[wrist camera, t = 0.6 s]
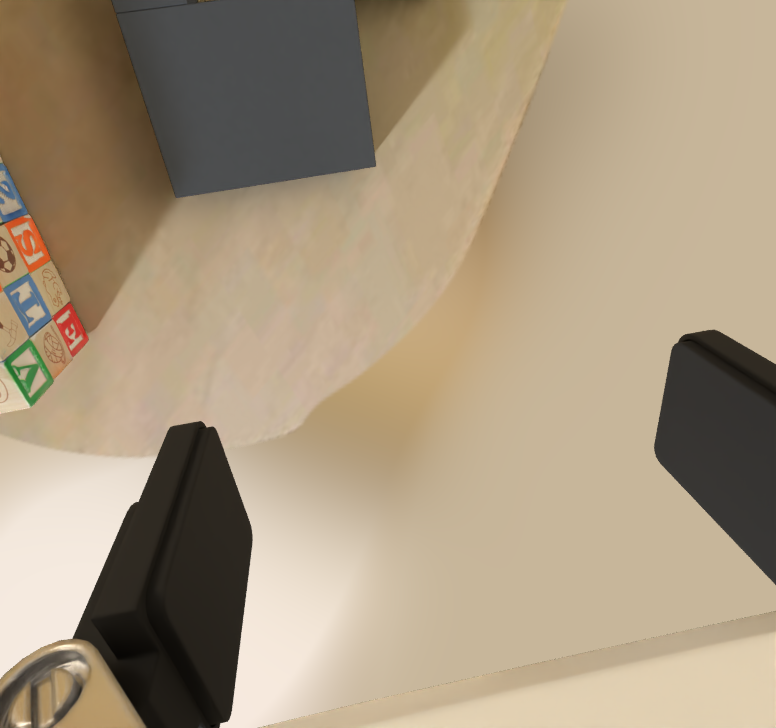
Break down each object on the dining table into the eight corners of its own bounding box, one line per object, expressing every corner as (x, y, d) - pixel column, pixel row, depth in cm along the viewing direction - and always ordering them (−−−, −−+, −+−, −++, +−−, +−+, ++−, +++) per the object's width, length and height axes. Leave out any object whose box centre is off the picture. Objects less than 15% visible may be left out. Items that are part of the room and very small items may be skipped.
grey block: (115, -46, 26) (89, -64, 23) (338, -74, 27) (341, -95, 24) (188, 188, 32) (175, 198, 29) (370, 159, 33) (376, 166, 30)
